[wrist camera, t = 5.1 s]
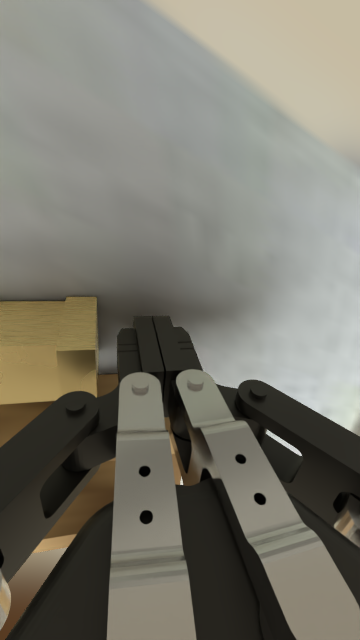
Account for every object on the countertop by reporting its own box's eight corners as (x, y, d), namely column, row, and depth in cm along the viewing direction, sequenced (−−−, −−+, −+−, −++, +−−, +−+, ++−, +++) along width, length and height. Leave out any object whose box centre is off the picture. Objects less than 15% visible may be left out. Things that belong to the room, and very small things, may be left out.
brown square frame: (28, 480, 19) (13, 556, 16) (3, 380, 15) (-25, 456, 12) (160, 463, 21) (171, 529, 18) (171, 370, 17) (188, 434, 13)
